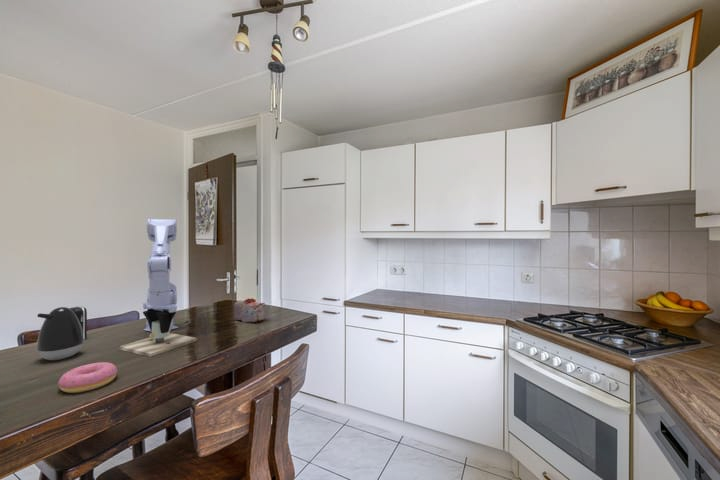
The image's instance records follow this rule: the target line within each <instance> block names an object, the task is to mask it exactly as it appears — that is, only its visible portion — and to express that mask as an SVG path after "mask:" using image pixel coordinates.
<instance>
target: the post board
mask: <svg viewBox="0 0 720 480" xmlns="http://www.w3.org/2000/svg"><path fill="white" fill-rule="evenodd" d="M195 342H198V337H194V336H188V335H183V334H178V333H172V332H170V333H169V336H167V337H164V338H156V339H154V338H151V337H146V338H144V339H141V340H136V341H133V342H130V343H126V344H122V345H119V346H118V350H120V351H125V352H128V353H133V354H137V355H141V356H144V357H149V358H151V357H153V356H156V355H160V354H163V353H166V352H168V351H172V350H175V349H177V348H181V347H184V346H186V345H190V344H192V343H195Z"/></svg>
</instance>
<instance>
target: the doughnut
mask: <svg viewBox="0 0 720 480" xmlns="http://www.w3.org/2000/svg"><path fill="white" fill-rule="evenodd" d="M118 370H119V369H118V367H117V366H116V364H114V363H111V362H108V361H107V362H106V361H105V362H103V361H102V362H93V363H89V364H84V365H81V366H77V367H75V368H72V369H69V370H68V371H66V372H64V373H63V375H61V377H60V378H59V380H58V383H57V384H58V386H59V389H60V390H61V391H62V392H64V393H71V394H75V393H76V394H77V393H83V392H84V393H85V392H88V391H91V390H92V391H93V390H95V389H98V388H99V389H100V388H101V387H104V386H105V385H107V384H109V383H111V382H112V381H113V380H114V379H115V378H116V376H117V372H118Z"/></svg>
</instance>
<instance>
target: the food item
mask: <svg viewBox="0 0 720 480" xmlns="http://www.w3.org/2000/svg"><path fill="white" fill-rule="evenodd" d="M265 307H266V303H265V302H258V301H257V300H256V298H255V299H254V298H249V297H248V298H246V299H244V300H238V301H236V302H234V304H233V320H234V321H238V320H241V321H240V322H242V321H243V322H242V323H252V322H256V323H258V322H257V321H259V322H261V321H260V320H263V321H265V309H266V308H265ZM244 321H245V322H244Z"/></svg>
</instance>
